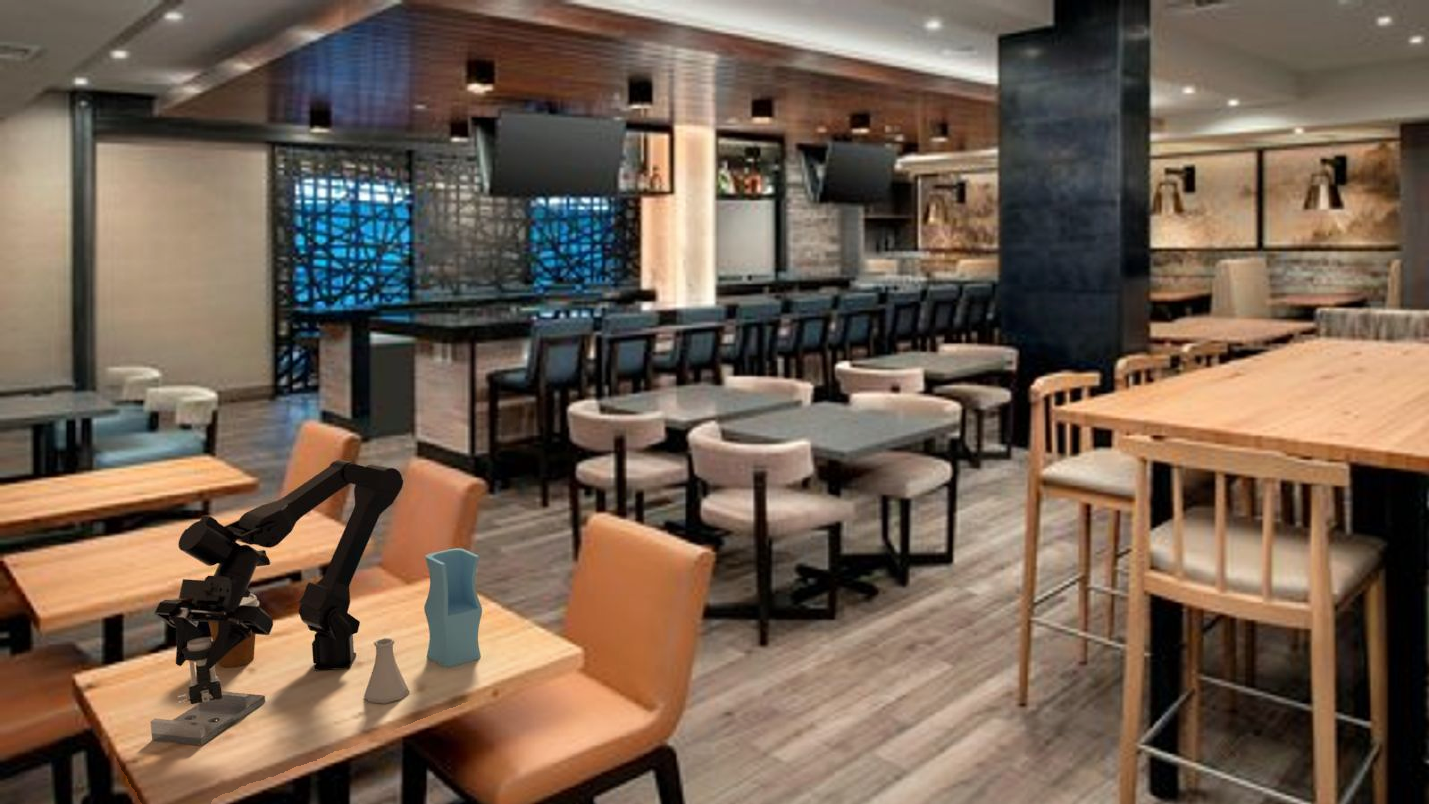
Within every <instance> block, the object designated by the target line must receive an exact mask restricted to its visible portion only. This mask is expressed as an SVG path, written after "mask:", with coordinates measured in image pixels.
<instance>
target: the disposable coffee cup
mask: <svg viewBox="0 0 1429 804" xmlns="http://www.w3.org/2000/svg"><path fill="white" fill-rule="evenodd" d="M240 605H244V606H258V607H260V601H259V600H258V598H257V595H255V594H254V593H250V595H249V597H248V598H246V597H243V599H242V601H241V603H240ZM206 616H207V615H206ZM208 626H209V631H210V635H211V639H212V641H215V639H216V637H217V635H218V623H214V622H208ZM249 634H251V637H250V638H246V639H244V640H243V641H242V642H241V643H239V644H238V645H237V646H235V647H234V648H233V649H232V650H230V651H229V652H228V653H227V654H226V655H225V656H224V657H223V658H222V659H220V660H219V661H218V662H217V665H218V666H219V667H222V668H235V667H239V666H244V665H246V664H250V663H251V662H252V661H254V659H255V649H256V634H254V633H253V632H252V630H250V633H249Z"/></svg>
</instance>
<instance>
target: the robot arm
mask: <svg viewBox="0 0 1429 804" xmlns="http://www.w3.org/2000/svg"><path fill="white" fill-rule="evenodd" d="M350 484H352V485H355V486H354V490H353V497H354V507H353V510H352V512H351V514H350V516H349V519H348V521H347V523H346V525H345V528H344V530H343V532H342V535H341V536H340V539H339V541H338V543H337V546H336V548H335V550H334V552H333V555H332V556H331V557H332V558H331V560H330V562H329V564H328V566H327V569H326V571H325V574H324V575H323V576H322V578H321V579H319V581H317V582H316V583H313V582H308V583H307V584H306V586H305V590H304V593H303V595H302V596H301V598H300V600H299V601H298V604H300V605H299V609H298V614H299V616H300V619H301V622H303V623H304V624H306V625H307V628H308V630H309V631H311V632H315V634H314V639H313V641H312V643H311V649H312V662H313V664H314V666H313V670H314V671H321V670H323V671H324V670H325V671H326V670H339V669H341V670H342V669H349V668H351V667H352V664H353V663H354V661H355V659H356V657H357V652H355V649H354V635H355V634H358V632H359V627H360V623H361V621H360V620H358V619H357V618H356V617H354V616H352V614H350V613H348V612H349V608H350V606H351V593H350V585H351V583H352V580H353V578H354V576H355V574H356V571H357V569H358V567H359V565H360V563H361V559H362V557H363V556H364V553H365V551H366V548H367V546H368V543H369V541H370V539H371V536H372V534H373V532H374V530H375V527H376V525H377V524H378V521H379V518H380V516H381V515H382V513H384V512H385V511H386V510H387V509H388V508H389V507H390V506H392V505H393V504H394V503H395V501H396V498H397V497H398V496H399V494H400V492H401V491H402V488H403V486H404V479H403V477H402V473H400V470H398V469H397V468H393V467H389V466H384V465H379V464H368V465H365V466H364V465H360V464H356V462H354V461H347V460H343V459H336V460H335V461H333V462H331V463H330V464H329V466H327V468H325V469H323V470H321V472H319V473H317V474H316V475H315V476H313V477H312V478H310V479H309V480H307V481H306V482H304V483H303V484H301V485H299V486H298V487H297V488H296V489H294V490H292V491H291V492H289V493H288V494H286V495H285V496H284V497H282V498H281V499H278V500H276V501H272V502H269V503H265V504H261V505H260V506H257V507H255V508H253V509H250V510H248V511H247V512H244V514H242V515H241V516H240V518H239V519H238V520H236V521H233V522H232V523H229V524H227V525H223V524H221V523H220V522H219V521H218V520H217V519H215V518H213V517H212V516H209V515H206V514H205V515H202V517H201V518H200V519H199V520H198V521H195V522H194V523H192V524H191V525H190V526H189V527H188V528H186V529H184V531H183V532H182V534H181V535H180V538H179V540H178V543H177V544H178V549H179V550H180V551H182V552H184V553H185V554H187V555H189V556H191V557H192V558H194V559H195V560H197V561H199V562H200V563H202V564H204V565H206V566H208V567H212V566H216V565H217V567H216V570H215V572H214V573H213V575H207V576H206V577H205V578H204V580H200V579H189V578H188V579H186V578H185V579H184V578H183V579H182V580H181V586H180V591H179V596H178V599H179V600H177V599H176V600H175V599H163V600H162V601H160V602H158V605H157V607H156V608H155V611H154V613H153V614H154V615H155V616H156V617H158V618H159V619H161V620H162V621H163V622H164V623H166V624H168V626H170V627H172V628H175V629H176V636H177V637H176V653H175V665H177V666H178V667H182V665H183V664H184V663H185V662H186V660H185V659H184V654H183V653H182V649H183V648H184V647H186V646H188V645H187V643H188V642H189V641H190V640H193V639H196V638H201V637H202V635H203V633H204V632H203V631H202V629H200V628H198V625H199V622H201V623H202V622H204V623H209V622H214V623H218V635H217V637H216V639H215V642H214V644H213V646H212V648H211V651H210V653H209V655H208V658H207V661H206V664H205V667H207V668H208V669H210V670H211V668H212V667H213V666H214V665H216V664H218V661H219V660H220V659H222V658H223V657H224V656H225V655H226V654H227V653H228V652H229V651H230V650H232V649H233V648H234V647H235V646H237V645H238V644H239V643H241V642H242V641H243V640H244V639H246V638H250V637H251V634H249V633H250V630H252V632H253V633H254V634H255V635H260V636H269V635H270V634H271V631H272V629H273V626H274V620H273V617H271V615H269V614H268V613H267V612H266V611H265V610H264V609H262V608H261V607H260V606H244V605H240V603H241V601H242V599H243V597H246V598H248V597H249V595H250V593H251V591H250V590H248V587H249V585H250V583H251V580H252V578H253V576H254V573H255V571H256V569H257V567H264V566H270V564H271V561H270V558H269V557H268V555H267V552H266V550H265V549H261V550H257V549H255V548H253V547H252V546H251V545H255V546H259V547H262V548H269V549H272V548H274V547H276V546H278V545H279V544H280V543H282V541H283V540H284V539H285V538H286V537H287V536H288V535H290V534H291V533H292V531H293V529H294V528H295V526H296V524H297V522H299V520H300V519H301V518H303V517H304V516H305V515H306V514H308V513H309V512H311V511H312V510H314V509H315V508H317V507H318V506H320V505H321V504H323V503H324V502H325V501H326V500H328V499H329V498H331V497H332V496H334V495H335V494H336V493H337V494H338V492H340V491H341V490H342V489H344V488H345V487H347V486H348V485H350ZM237 542H240V543H243V544H242V545H241V544H239V543H237ZM251 594H252V593H251ZM184 599H186V600H187V599H188V600H192V601H191V604H192V605H194V606H197V607H198V609H197V608H192V606H190V605H189V604H187V603H186V602H185V601H183V600H184ZM206 615H207V616H206Z"/></svg>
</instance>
